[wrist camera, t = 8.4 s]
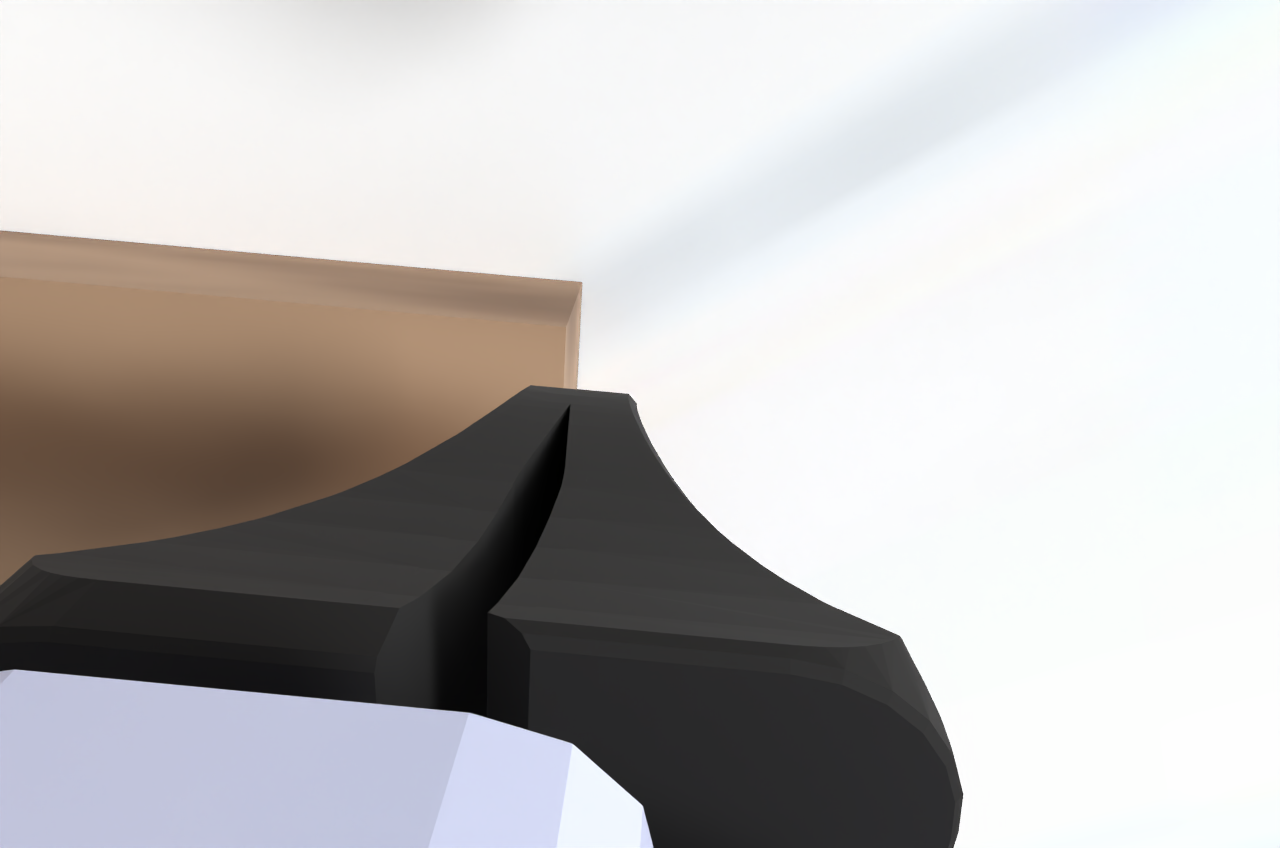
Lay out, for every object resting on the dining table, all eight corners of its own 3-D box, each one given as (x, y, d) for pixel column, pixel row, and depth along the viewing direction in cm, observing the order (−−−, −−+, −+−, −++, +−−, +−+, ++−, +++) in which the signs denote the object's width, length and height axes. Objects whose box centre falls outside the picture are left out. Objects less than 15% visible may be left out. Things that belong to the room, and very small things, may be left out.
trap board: (557, 788, 29) (542, 873, 26) (-219, 713, 29) (-313, 790, 26) (582, 282, 22) (565, 326, 19) (-442, 191, 22) (-603, 222, 19)
